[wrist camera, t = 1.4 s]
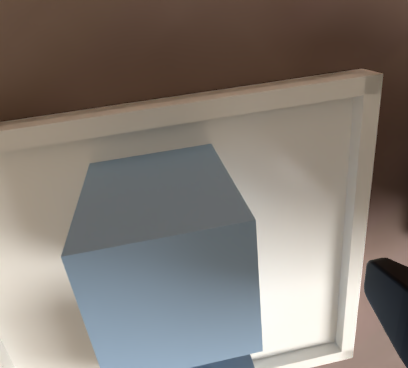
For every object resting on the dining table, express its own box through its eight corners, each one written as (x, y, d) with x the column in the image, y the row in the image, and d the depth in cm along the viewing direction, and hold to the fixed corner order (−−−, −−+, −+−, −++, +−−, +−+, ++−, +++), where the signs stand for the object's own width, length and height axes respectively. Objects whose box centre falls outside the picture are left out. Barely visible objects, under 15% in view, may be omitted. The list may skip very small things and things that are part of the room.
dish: (362, 68, 12) (383, 73, 11) (340, 337, 18) (352, 357, 17) (-110, 138, 11) (-138, 151, 10) (30, 408, 17) (23, 435, 16)
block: (211, 143, 12) (255, 220, 8) (221, 242, 14) (262, 351, 9) (89, 163, 12) (60, 257, 7) (116, 262, 13) (107, 386, 9)
